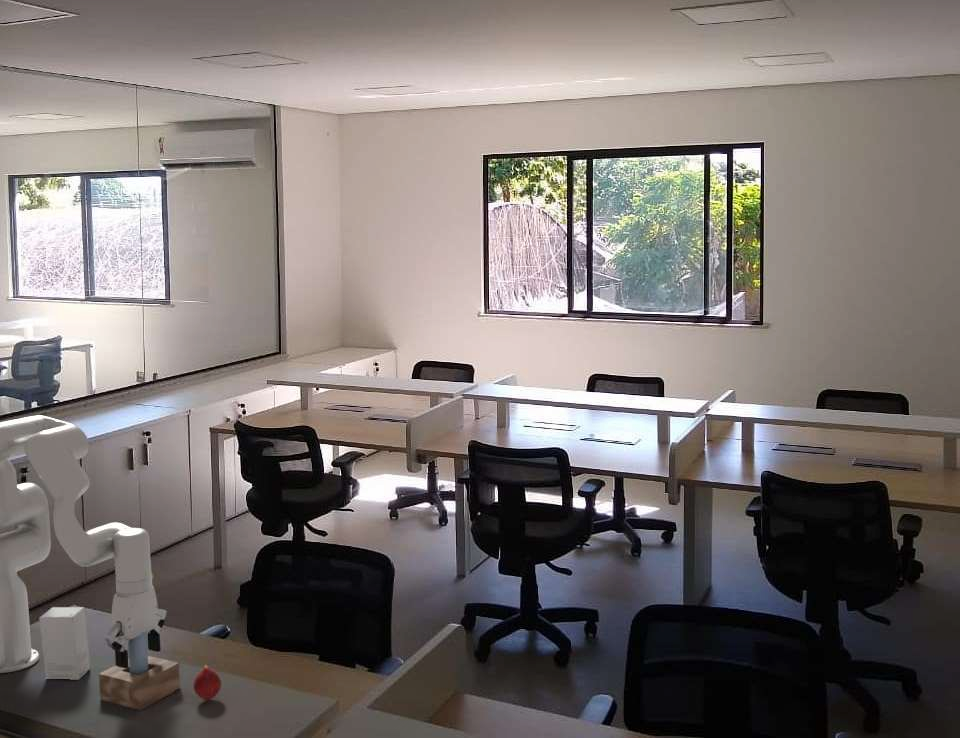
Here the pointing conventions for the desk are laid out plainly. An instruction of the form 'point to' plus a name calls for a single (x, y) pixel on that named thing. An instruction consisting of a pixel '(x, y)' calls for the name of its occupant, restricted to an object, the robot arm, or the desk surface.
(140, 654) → the pin
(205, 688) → the onion
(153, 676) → the bore block
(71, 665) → the skincare box
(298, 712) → the desk surface
